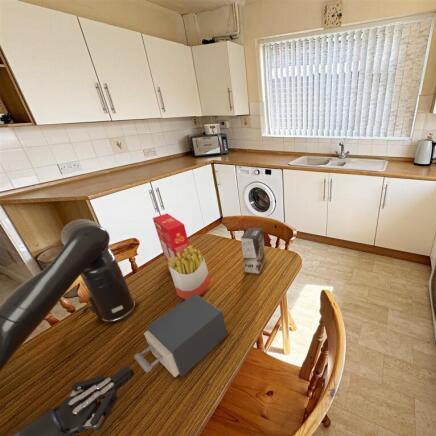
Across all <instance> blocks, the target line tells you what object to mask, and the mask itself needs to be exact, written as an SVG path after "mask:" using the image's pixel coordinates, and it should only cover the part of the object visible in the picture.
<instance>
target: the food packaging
mask: <svg viewBox="0 0 436 436" xmlns="http://www.w3.org/2000/svg"><path fill="white" fill-rule="evenodd" d="M152 220H153V224H154V227H155V230H156V232H157V233H156V234H157V237H158V240H159V243H160V247H161V249H162V253H163V256H164V259H165V263H166V265H167V270H168V272H169V274H171V272H170V269H169V266H170V264H169V261H168V259H169V258H172V259H173V261H174V263H175V260H174V257H177V258H178V256H177V253H178V252H179V253H180V256H181V258H183V257H182V254H183V253H185V252H184V249H185V248H186V249H187V247H188V246H190V243H189V239H188V234H187V231H186V230H187V229H186V226H185V223H183V222H182V221H180V220H178V219H177V218H175V217H174V216H172V215H171V214H169V213H164V214H160V215H158V216H154V217H152ZM187 251H188V249H187ZM188 253H189V251H188ZM178 261H179V260H178Z"/></svg>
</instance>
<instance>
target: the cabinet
mask: <svg viewBox="0 0 436 436" xmlns="http://www.w3.org/2000/svg"><path fill="white" fill-rule="evenodd" d="M146 329H147V331H148V330H149V331H150V332H151V333H152V334H153V335H154V336H155V337H156V338H157V339H158V340H159V341H161V342H162V343H163V344H164V345H165V346H166V347H167V348H168V349H169V350H170V351H171V352H172V355H173V358H174V360H175V363H176V366H177V368H178V371H179V374H178V376H180V377H181V378H183V377H184V376H185V375H187V373H188V372H189V371H190V370H191V369H193V367H195V366H196V365H197V364H198V363H199V362H200V361H201V360H202V359H203V358H204V357H205V356H207V354H209V353H210V352H211V351H212V350H213V349H214V348H215V347H216V346H218V345H219V343H221V342H222V341H224V339H225V338H226V337H227V336H228V333H227V329H226V323H225V318H224V314H223V310H221V309H219V308H218V307H216V306H215V305H213V304H212V303H211V302H209V301H207V300H206V299H205V298H203V297H201V295H200V296H198V295H197V294H194V295H192V296H191V297H189V298H188V299H186V300H185V299H184V301H182V302H181V303H179V304H177V305H176V306H175V307H173V308H171V309H170V310H169V311H167V312H165V313H164V314H162V315H161V316H159V317H158V318H157V319H155V320H154V321H152V322H151V323H149V324H147V325H146Z"/></svg>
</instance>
